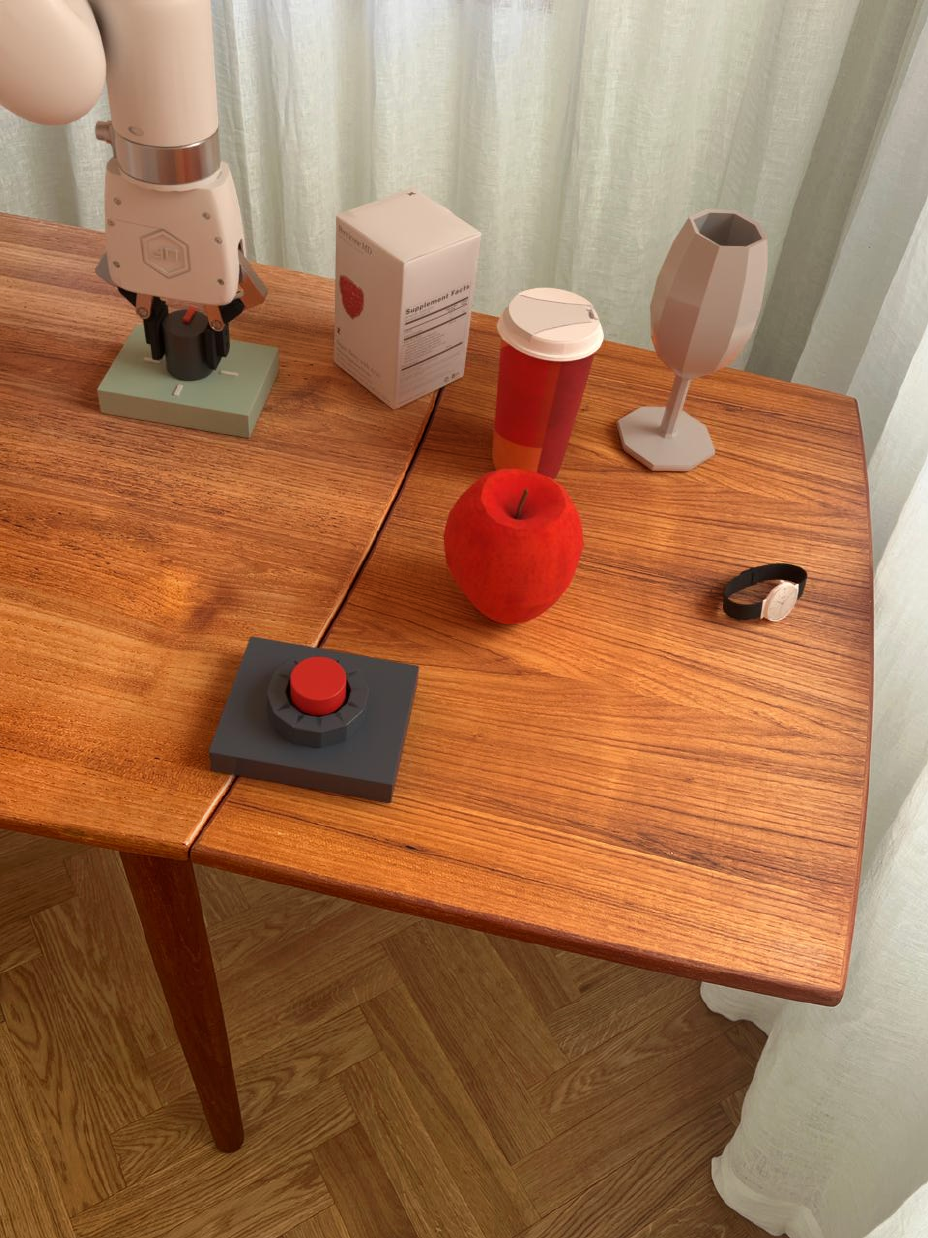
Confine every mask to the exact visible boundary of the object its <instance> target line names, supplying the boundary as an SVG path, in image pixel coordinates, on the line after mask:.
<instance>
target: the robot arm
mask: <svg viewBox="0 0 928 1238" xmlns="http://www.w3.org/2000/svg"><path fill="white" fill-rule="evenodd" d="M214 49H215V48H214V35H213V19H212V5H211V0H0V106H1V107H2V108H4V109H5V110H7V111H9V112H11V113H12V114H13V115H15V116H17V117H19V118H21V119H24V120H26V121H28V122H31V123H35V124H37V125H44V126H61V125H62V126H63V125H68V124H71V123H73V122H76V121H78V120H80V119H81V118H83V117H84V116H86V115H88V114H89V112H90V111H92V109H93V108H94V107H95V106H96V105H97V103H98V101H99V99H100V98H101V96H102V94H103V90H104V87H105V84H106V90H107V91H106V92H107V98H108V104H109V105H108V106H109V111H110V112H109V113H110V120H109V119H107V121H103V120H97V121H96V123H95V127H94V134H95V138H96V140H98V141H101V142H105V143H106V144H108V145H110V146H111V148H112V154H113V156H112V157H111V158H110V159H109V160H108V161H107V163H106V165H105V166H106V167H105V177H104V234H105V246H106V250H105V252H104V254H103V256H102V257H101V259H100V260H99V262H98V263H97V265H96V266H95V268H94V272H95V274H96V276H97V277H99V278H101V279H102V280H103V281H105V282H106V283H108V284H109V285H111V286H112V287H113V288H117V291H118V293H119V294H120V295H121V296H122V297H123V298H124V299H126V300H127V301H128V302H129V304H131V306H133V307H134V308H135V313H136V315H137V317H139V318H140V319H142V324H143V325H144V332H145V339H146V343H147V344H149V345H150V346H151V354H152V359H153V360H158V361H159V360H160V359H162V358H163V356H164V355H165V350H164V341H163V333H162V325H161V323H162V320H163V318H164V317H165V316H166V315H167V314H169V313H170V312H169V305H168V304H167V301H166V300H162V299H161V298H163V299H169V300H174V301H181V302H186V303H192V304H198V305H203V308H204V311H205V315H206V316H207V318H208V324H207V326H206V328H205V330H204V340H205V351H206V362H207V367H208V368H209V369H210V370H216V369H217V367H218V365H219V363H220V361H221V359H222V357H227V355H228V353H229V350H230V339H231V338H230V325H229V324H230V323H231V322H232V321H234V320H235V319H236V318H238V317H239V316H240V315H242V313H243V312H245V311H247V310H251V309H253V308H256V307H258V306H260V305H262V304H263V303H264V302H265V300H266V299H267V296H268V294H269V289H268V288H267V286H266V284H264V282H263V280H262V279H261V277H260V276H259V275H258V273H257V272H256V271H255V269H254V267H253V266H252V265H251V264H250V262H249V260H248V259H247V248H246V240H245V232H244V226H243V219H242V213H241V212H242V211H241V208H240V202H239V198H238V194H237V190H236V189H237V188H236V186H235V182H234V178H233V175H232V172H231V169H230V166H229V164H228V163H227V162H226V161H222V157H221V156H222V155H221V142H220V130H219V129H220V128H219V127H220V126H219V125H220V124H219V114H218V111H219V110H218V97H217V95H218V94H217V81H216V79H217V78H216V65H215V52H214ZM239 286H240V288H241V289H242V291H241V290H238V288H239Z"/></svg>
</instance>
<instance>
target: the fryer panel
mask: <svg viewBox="0 0 928 1238" xmlns="http://www.w3.org/2000/svg"><path fill="white" fill-rule="evenodd" d="M279 372H280V349H279V347H277V346H271V345H265V344H259V343H254V342H248V341H242V340H236V339H231V338H230V350H229V353H228V355H227V357H222V359H221V361H220V363H219V365H218V367H217V369H216V370H213V371H212V373H211V374H210V375H209V376H207V377H205V378H203V379H200V380H196V381H184V380H180V379H177V378H175V377H173V376H172V375H170V374H169V372H168V370H167V366H166V358H165V355H164V356H163V358H162V359H160V360H159V361H158V360H153V359H152V354H151V346H150V345H149V344H147V343H146V339H145V332H144V324H143V323H136V324H135V325H134V328H132V330H131V332H130V334H129V335H128V337H127V339H126V341H125V342H124V344H123V346H122V348H120V350H119V352H118V354H117V356H116V357H115V358H114V361H113V362H112V364H111V365H110V367H109V369H108V370H107V372H106V374H105V375H104V376H103V378H102V380H101V382H100V384H99V385H98V387H97V388H96V392H97V399H98V404H99V409H100V413H101V414H105V415H111V416H116V417H123V418H127V419H128V418H129V419H134V420H139V421H145V422H152V423H156V424H162V425H167V426H168V425H170V426H174V427H180V428H186V429H193V430H197V431H204V432H210V433H215V434H222V435H227V436H234V437H238V438H244V439H245V438H246V439H250V438H251V436H252V434H253V432H254V430H255V427H256V425H257V423H258V421H259V418H260V416H261V413H262V411H263V409H264V406H265V404H266V402H267V400H268V397H269V395H270V393H271V390H272V388H273V386H274V384H275V381H276V379H277V377H278V374H279Z"/></svg>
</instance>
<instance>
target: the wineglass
mask: <svg viewBox="0 0 928 1238" xmlns="http://www.w3.org/2000/svg"><path fill="white" fill-rule="evenodd" d="M768 247H769V246H768V237H767V235H766V233H765V231H764V229H763V227H762V225H761V223H760V222H759V221H757V220H755V219H754V218H751V217H750V216H748V215H746V214H744V213H742V212H740V211H739V210H737V209H722V208H721V209H720V208H706V209H703V210H702V211H699V212H697V213H695V214H693V215H691V216H688V218H687V219H686V221H685V222H684V224H683V226H682V227H681V228H680V230H679V232H678V233H677V235H676V236H675V238H674V240H673V241H672V243H671V245H670V248H669V250H668V251H667V255H666V257H665V259H664V262H663V264H662V266H661V268H660V269H659V273H658V275H657V277H656V281H655V285H654V289H653V294H652V297H651V301H650V305H649V314H650V315H649V318H650V339H651V341H652V344H653V348H654V350H655V354H656V357H657V358H658V359H659V360H660V361H661V362H662V363H663V364H664V365H665V366H666V367H667V368H668V369H669V370H670V371H671V372H672V373H673V374H674V375H675V377H674V379H673V383H672V386H671V389H670V392H669V395H668V400H667V403H666V406H641V407H639V408H637V409H635V410H633V411H631V412H630V413H628V414H626V415H625V416H623V417H621V418H619V419H617V421H616V424H615V425H616V429H617V432H618V436H619V439H620V442H621V447H622V450H623V451H624V452H625V453H626V454H628V455H629V456H631V457H632V458H633V459H635V460H636V461H638V462H639V463H641V464H642V465H643V466H645V467H646V468H648V469H649V470H650V471H653V472H690V471H692V470H694V469H695V468H697V467H698V466H701V464H703V463H704V462H707V461H708V460H709V459H711V458H713V457H714V456H715V454H716V449H715V446H714V444H713V440H712V438H711V435H710V433H709V430H708V427H707V425H705V424H704V423H703V422H701V421H699V420H698V419H696V418H695V417H693V416H692V415H690V414H689V413H688V412H686V411H684V410H683V409H684V405H685V401H686V399H687V395H688V392H689V388H690V386H691V383H692V380H695V379H697V378H701V377H705V376H708V375H712V374H714V373H716V372H718V371H721V370H722V369H724V368H725V367H727V366H729V365H730V364H732V363H733V362H734V361H735V360H736V358H737V357H738V355H739V354H740V353H741V352H742V350H743V348H745V346H746V344H747V342H749V340H750V339H751V337H752V335H753V332H754V330H755V327H756V324H757V321H758V319H759V315H760V311H761V309H762V304H763V300H764V299H763V298H764V294H765V293H764V292H765V287H766V280H767V274H768V270H769V269H768V268H769V267H768V266H769V264H768V263H769V262H768V261H769V257H768V253H769V251H768V250H769V249H768Z"/></svg>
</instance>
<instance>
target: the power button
mask: <svg viewBox="0 0 928 1238" xmlns="http://www.w3.org/2000/svg"><path fill="white" fill-rule="evenodd" d="M290 689H291V699H292V702H293V703H294V705H295V706H296V707H297V708H298V709H299V710H300V711H302V712H304V713H306V714H309V715H315V716H321V715H327V714H330V713H332V712H334V711H336V710H337V709H338V708H339V707H340V706H341V705H342V704H343V702H344V700H345V697H346V674H345V671H344V669H343V668H342V666H341V665H340V664H338V663H337V662H336V661H334V660H332V659H329V658H326V657H311V658H307V659H305V660H303V661H301V662H300V663H298V664H297V665H296V666H295V667H294V669H293V671H292V673H291V676H290Z"/></svg>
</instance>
